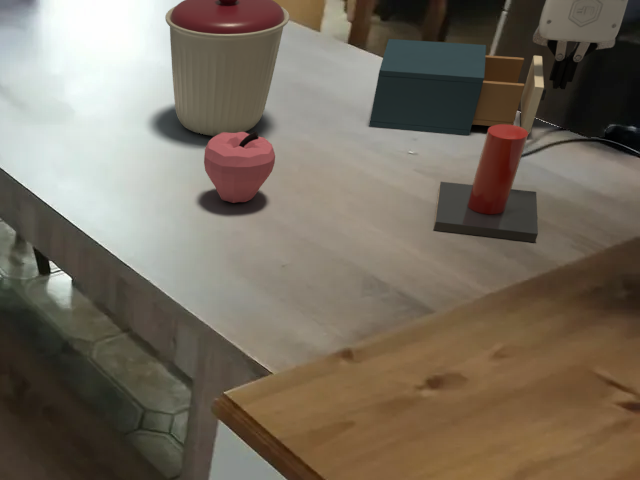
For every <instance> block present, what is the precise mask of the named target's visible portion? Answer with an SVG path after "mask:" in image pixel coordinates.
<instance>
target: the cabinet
mask: <svg viewBox="0 0 640 480" xmlns="http://www.w3.org/2000/svg"><path fill="white" fill-rule="evenodd" d="M486 55H487V44H476V43H475V44H474V43H462V42H461V43H459V42H447V41H446V42H442V41H428V40H413V39H412V40H411V39H397V38H396V39H395V38H394V39H393V38H388V40H387V43H386V47H385V50H384V54H383V57H382V61H381V63H380V67H379V71H378V75H377V81H376V88H375V91H374V92H375V93H374V97H373V103H372V108H371V112H370V119H369V124H368V127H372V128H373V127H375V128H384V129H394V130H395V129H396V130H404V131H405V130H406V131H415V132H427V133H428V132H429V133H439V134H449V135H450V134H451V135H459V136H470V133H471V129H472V126H473V124H472V122H473V119H474V115H475V111H476V107H477V103H478V100H479V96H480V92H481V88H482V84H483V81H484V73H485V57H486Z"/></svg>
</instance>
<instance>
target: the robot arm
mask: <svg viewBox="0 0 640 480" xmlns="http://www.w3.org/2000/svg"><path fill="white" fill-rule="evenodd" d="M628 3H629V0H545V1H544V5H543V7H542V10H541V14H540V17H539V22H538V26H537V28H536V29H535V31H534V33H533V35H532V42H533V43H535V44H537V45H540V46H544V47H547V48H548V50H550V53H552V55H553V56H554V61H553V65H552V67H551V70H550V74H549V77H548V80H549V81H551V82H552V89H554V90H555V89H556V90H557V89H560V90H566V88H567V84H568V83H572V82H573V80H574V77H575V74H576V70H577V67H578V64H579V62H581V61H583V59H584V58H585V57H587V56H588V55H590V54H591V53H593V52H594V51H596V50H604V49H605V50H606V49H611V48H613V47H614V46H615V45H616V38H617V37H618V36H617V35H618V33H619V31H620V28H621V26H622V22H623V19H624V16H625V12H626V9H627V5H628ZM568 42H576V44H575V45H574V48H573V49H572V51H571V52H570V53H569V54H568V56H567V52H566V51H567V44H568Z"/></svg>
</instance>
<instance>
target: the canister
mask: <svg viewBox="0 0 640 480" xmlns="http://www.w3.org/2000/svg"><path fill="white" fill-rule="evenodd" d="M164 18H165V22H166V24H167V25H168V26H169V40H170V57H171V58H170V59H171V71H172V72H171V74H172V86H173V97H174V107H175V113H176V116H177V119H178V121H179V123H180V124H181V125H182V126H183V127H184V128H185V129H187V130H188V131H190V132H193V133H195V134H199V133H200V134H199V135H202V134H203V136H211V137H214V136H216V135H218V134H220V133H222V132H225V133H238V132H245V133H247V131H250V130H251V129H253V128H254V127H255V126H257V124H258V123H259V122H260V120H261V118H262V116H263V115H264V112H265V108H266V105H267V100H268V97H269V92H270V89H271V86H272V81H273V76H274V72H275V68H276V63H277V58H278V53H279V50H280V45H281V42H282V41H281V40H282V37H283V31H284V27H285V26H287V24H288V22H289V21H290V13H289V12H288V10H287V9H286V8H284V7H283V6H281V5H280V4H278V2H276V1H274V0H182V1H180V2H179V3H178V4H177V5H175V6H172V7H171V8H170V9H169V10H167V12H166V14H165V17H164Z"/></svg>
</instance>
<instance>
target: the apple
mask: <svg viewBox="0 0 640 480" xmlns="http://www.w3.org/2000/svg"><path fill="white" fill-rule="evenodd" d="M275 161H276V154H275V150H274V147H273V144H272V143H271V142H269V140H268V139H266V138H265V137H263V136H260V135H259V133H258V131H256V130H254V131H253V132H251V133H248V132H238V133H225V132H222V133H220V134H218V135H216V136H212V138H211V139H210V140H208V142H207V144H206V146H205V148H204V156H203V165H204V171H205V173H206V175H207V176H208V178H209V180H210V181H211V183H212V185H213V186H214V189H215V190H216V192H217V193H218V195H219V197H220V199H221V201H224V202H228V203H231V204H236V203H246V202H249V201H250V200H252V199H253V198H254V197H255V196H256V194H258V192H259V190H260V188H261V187H262V186H263V184H264V183H265V182H266V181H267V179H268V178H269V177H270V175H271V173H272V172H273V170H274V166H275V164H276V162H275Z"/></svg>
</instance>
